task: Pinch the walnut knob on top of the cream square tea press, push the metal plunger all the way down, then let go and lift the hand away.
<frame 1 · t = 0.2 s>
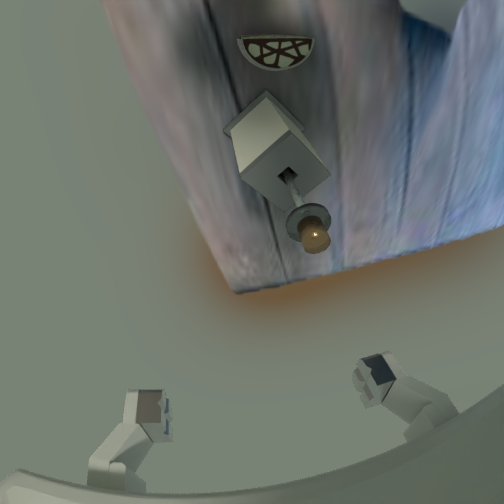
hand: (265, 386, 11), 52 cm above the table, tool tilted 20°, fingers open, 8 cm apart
plunger: (296, 195, 39), point 25 cm above the table, slide at 0.0 cm
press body: (264, 127, 56), on the table
half citrus wheel toy: (266, 48, 43), on the table
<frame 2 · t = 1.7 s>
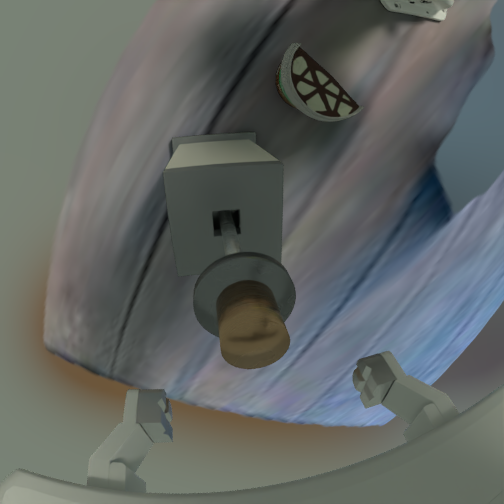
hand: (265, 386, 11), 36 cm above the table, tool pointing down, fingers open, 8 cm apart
plunger: (232, 250, 21), point 25 cm above the table, slide at 0.0 cm
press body: (215, 173, 42), on the table
half citrus wheel toy: (293, 93, 38), on the table
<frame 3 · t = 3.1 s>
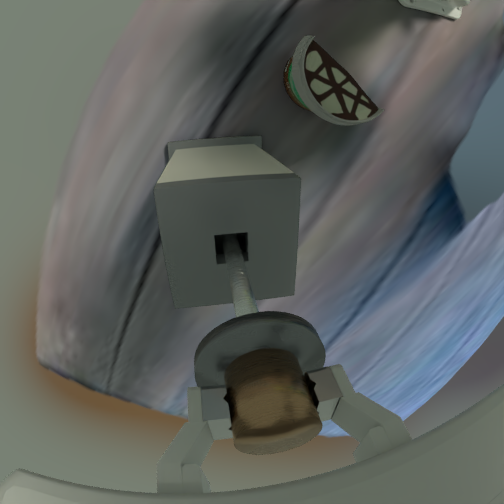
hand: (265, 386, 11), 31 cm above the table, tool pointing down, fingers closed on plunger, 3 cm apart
plunger: (241, 288, 17), point 25 cm above the table, slide at 0.0 cm, touching gripper
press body: (216, 181, 38), on the table
half citrus wheel toy: (303, 93, 34), on the table
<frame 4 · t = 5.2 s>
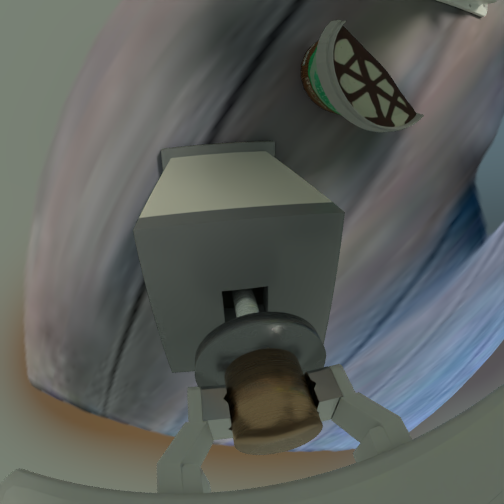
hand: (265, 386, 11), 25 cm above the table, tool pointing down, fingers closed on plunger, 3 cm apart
plunger: (241, 288, 17), point 18 cm above the table, slide at 6.8 cm, touching gripper
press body: (220, 195, 32), on the table
half citrus wheel toy: (323, 91, 28), on the table
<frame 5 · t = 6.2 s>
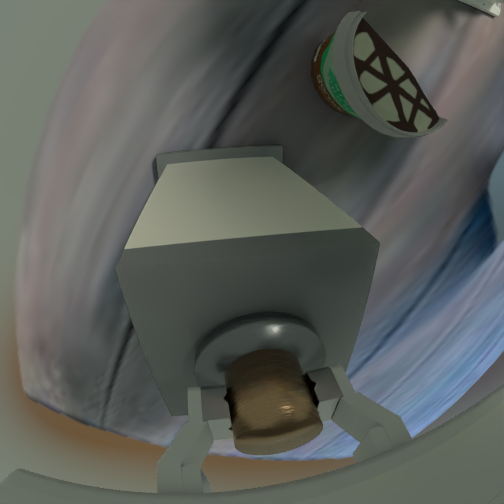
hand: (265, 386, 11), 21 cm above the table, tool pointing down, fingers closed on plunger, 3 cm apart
plunger: (241, 288, 17), point 14 cm above the table, slide at 10.1 cm, touching gripper
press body: (222, 205, 29), on the table
half citrus wheel toy: (335, 90, 25), on the table
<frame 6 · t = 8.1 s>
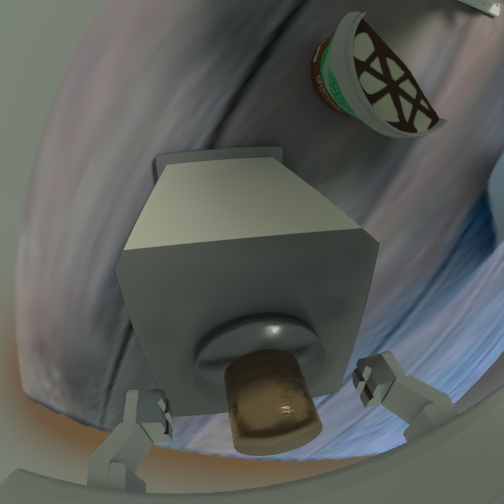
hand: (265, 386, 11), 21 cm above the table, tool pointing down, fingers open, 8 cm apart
plunger: (241, 289, 17), point 14 cm above the table, slide at 10.1 cm
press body: (221, 206, 29), on the table
half citrus wheel toy: (335, 91, 25), on the table
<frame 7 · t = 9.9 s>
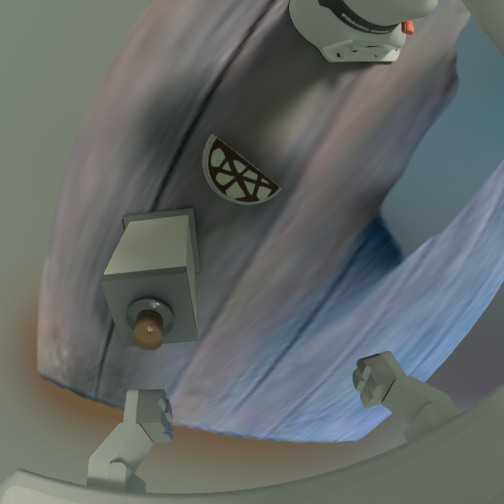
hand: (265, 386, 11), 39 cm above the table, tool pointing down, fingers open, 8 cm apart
plunger: (154, 289, 36), point 14 cm above the table, slide at 10.1 cm
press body: (163, 243, 49), on the table
half citrus wheel toy: (227, 167, 46), on the table
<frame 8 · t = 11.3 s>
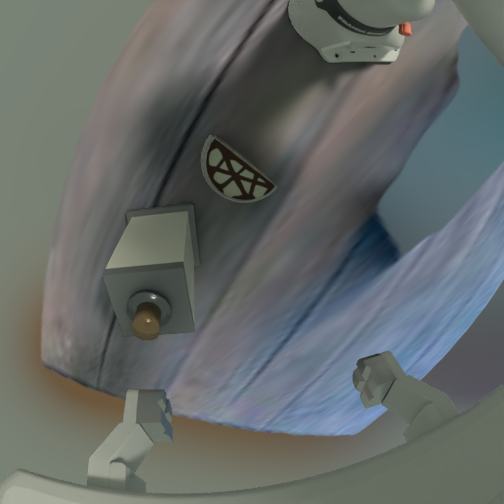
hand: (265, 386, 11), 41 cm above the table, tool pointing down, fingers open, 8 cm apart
plunger: (154, 283, 38), point 14 cm above the table, slide at 10.1 cm
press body: (164, 237, 51), on the table
half citrus wheel toy: (226, 165, 47), on the table
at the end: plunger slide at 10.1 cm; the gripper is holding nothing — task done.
